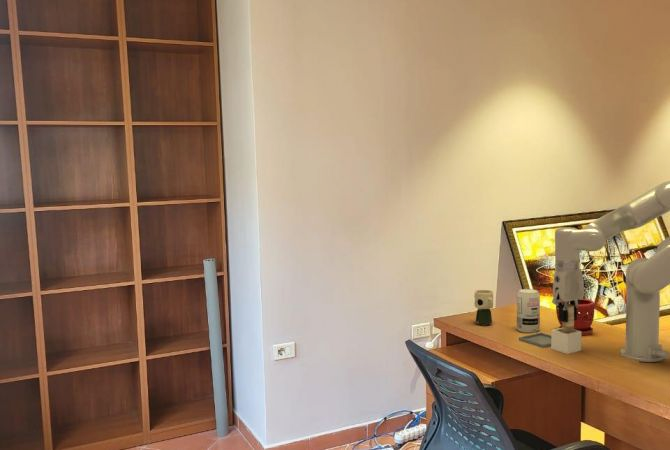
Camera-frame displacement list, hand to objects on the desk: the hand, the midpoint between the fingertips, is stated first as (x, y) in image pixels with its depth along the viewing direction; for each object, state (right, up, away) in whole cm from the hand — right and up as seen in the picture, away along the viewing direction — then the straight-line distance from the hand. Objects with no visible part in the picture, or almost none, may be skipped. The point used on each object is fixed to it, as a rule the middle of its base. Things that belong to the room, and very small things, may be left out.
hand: (568, 319), depth 208 cm
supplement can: (-5, -8, +27) cm, 29 cm away
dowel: (0, -8, +1) cm, 8 cm away
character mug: (-19, -8, +38) cm, 43 cm away
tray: (-5, -10, +11) cm, 16 cm away
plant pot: (+11, -8, +22) cm, 26 cm away
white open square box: (0, -11, +1) cm, 11 cm away
